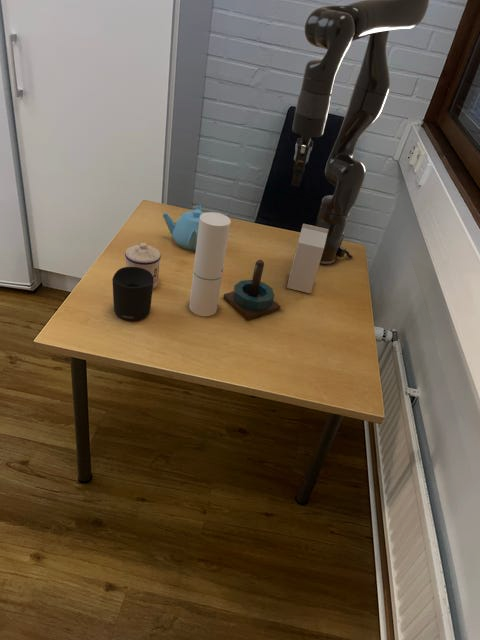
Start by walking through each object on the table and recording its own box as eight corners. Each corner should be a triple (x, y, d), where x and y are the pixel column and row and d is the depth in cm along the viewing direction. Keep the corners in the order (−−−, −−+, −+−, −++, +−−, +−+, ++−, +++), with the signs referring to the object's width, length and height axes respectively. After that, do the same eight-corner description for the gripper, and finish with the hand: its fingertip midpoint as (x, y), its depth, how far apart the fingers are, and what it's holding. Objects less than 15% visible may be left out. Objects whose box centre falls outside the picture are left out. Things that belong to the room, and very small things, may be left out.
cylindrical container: (220, 305, 123) (235, 217, 109) (210, 319, 117) (224, 228, 103) (195, 297, 124) (206, 209, 110) (184, 310, 119) (194, 220, 104)
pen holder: (104, 309, 114) (104, 274, 108) (135, 296, 120) (136, 262, 114) (128, 328, 110) (129, 292, 104) (159, 313, 116) (161, 279, 110)
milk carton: (310, 294, 135) (328, 234, 124) (286, 288, 136) (301, 228, 124) (312, 282, 141) (329, 224, 130) (289, 276, 141) (304, 218, 130)
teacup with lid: (157, 293, 123) (160, 254, 116) (122, 290, 122) (122, 250, 115) (161, 270, 132) (163, 233, 126) (128, 266, 131) (129, 229, 124)
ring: (255, 284, 132) (257, 276, 130) (280, 305, 125) (282, 296, 123) (225, 292, 126) (226, 284, 124) (249, 314, 119) (251, 305, 118)
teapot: (189, 258, 140) (193, 226, 134) (159, 237, 148) (161, 205, 142) (226, 247, 150) (231, 216, 144) (196, 228, 158) (199, 198, 151)
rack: (254, 289, 132) (263, 246, 124) (279, 310, 126) (290, 266, 118) (223, 298, 126) (230, 253, 118) (247, 320, 119) (257, 275, 112)
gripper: (298, 103, 114) (285, 168, 124) (292, 115, 103) (278, 186, 112) (328, 109, 114) (313, 174, 123) (326, 122, 102) (309, 192, 112)
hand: (296, 180), depth 118 cm, fingers open, 8 cm apart
